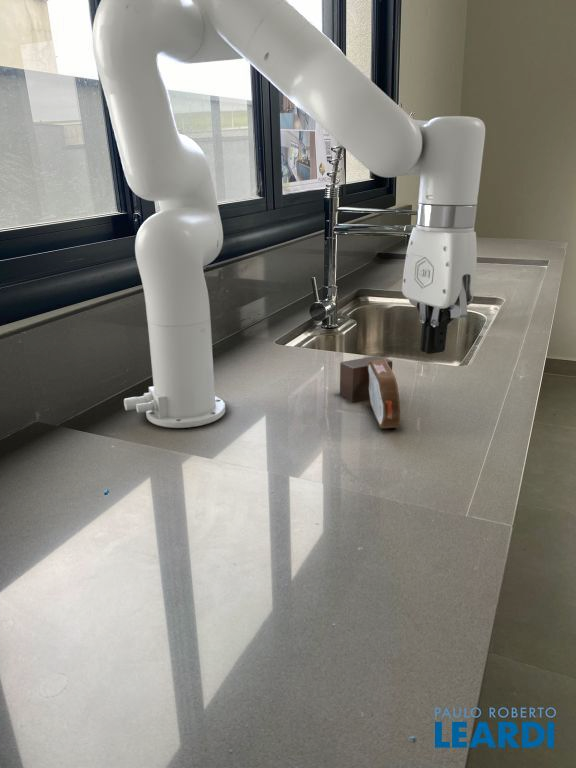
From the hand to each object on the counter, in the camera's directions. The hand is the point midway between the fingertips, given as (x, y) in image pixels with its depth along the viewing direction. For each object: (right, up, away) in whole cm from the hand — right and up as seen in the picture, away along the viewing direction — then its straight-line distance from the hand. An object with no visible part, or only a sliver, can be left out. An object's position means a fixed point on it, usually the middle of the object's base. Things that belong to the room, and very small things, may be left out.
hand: (432, 351), depth 86 cm
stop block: (-7, -7, +19) cm, 21 cm away
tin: (-6, -10, +9) cm, 15 cm away
